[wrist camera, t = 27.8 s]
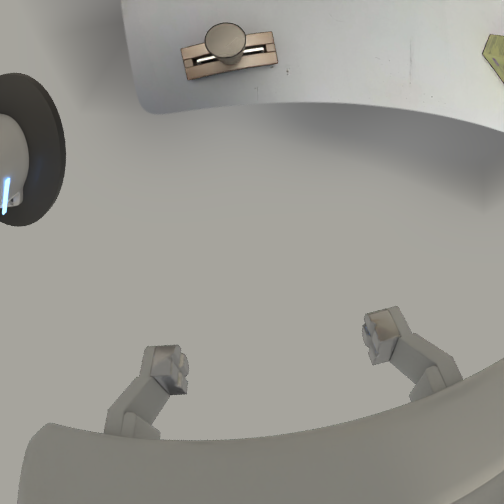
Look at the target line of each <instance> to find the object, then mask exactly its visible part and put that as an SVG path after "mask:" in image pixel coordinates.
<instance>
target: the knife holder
mask: <svg viewBox="0 0 504 504" xmlns="http://www.w3.org/2000/svg"><path fill="white" fill-rule="evenodd" d="M259 47H263V48H264V50H263V51H264V53H258V54H251V55H245V56H242V58H241V60H240V61H239V62H237V63H236V64H232V65H227V64H224V63H222V62H221V61H219V60H218V61H213V62H209V63H205V64H200V65H197V61H196V60H197V59H201V58H205V57H209V56H213V55H212V54H210V53H209V52H208V50H207V49H206V47H205V43H201V44H197V45H193V46H189V47H185V48H182V49H181V53H182V58H183V60H184V61H183V62H184V66H185V71H186V75H187V79H188V80H193V79H197V78H202V77H206V76H210V75H215V74H219V73H224V72H229V71H235V70H240V69H246V68H252V67H259V66H266V65H274V64H277V63H278V60H277V54H276V49H275V44H274V39H273V34H272V32H262V33H254V34H247V35H246V45H245V49H244V50H246V49H252V48H259Z"/></svg>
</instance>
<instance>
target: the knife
mask: <svg viewBox="0 0 504 504" xmlns="http://www.w3.org/2000/svg"><path fill="white" fill-rule="evenodd" d="M245 45H246V35H245V32H244V31H243V30H242V28H240V27H239V26H238V25H236V24H233V23H220V24H217V25H215V26H213V27H212V28H211V29H210V30H209V31H208V32H207V34H206V36H205V47H206V49H207V50H208V52H209V53H210V54H212V55H213V56H211V57H206V58H202V59H198V60H197V62H199V63H207V62H212V61H216V60H219V61H221V62H222V63H224V64H227V65H232V64H236V63H237V62H239V61H240V60H241V58H242V56H243V55H249V54H256V53H261V52H262V51H263V50H264V48H263V47H262V48H255V49H248V50H244V49H245Z"/></svg>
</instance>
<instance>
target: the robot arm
mask: <svg viewBox="0 0 504 504" xmlns="http://www.w3.org/2000/svg"><path fill="white" fill-rule="evenodd" d="M28 169H29V152H28V146H27V142H26V139H25V136H24V133H23V131H22V129H21V128H20V126H19V125H18V123H17V122H16V121H15V120H14V119H13V118H11V117H10V116H8V115H5V114H0V208H3V210H2V214H3V215H4V214H5V213H6V210H7V207H11V206H17V205H19V204H21V203H22V201H23V186H24V183H25V180H26V178H27V174H28ZM364 321H365V324H364V325H363V328H362V336H363V340H364V343H365V345H366V346H367V347H369V352H368V354H369V357H370V360H371V362H372V365H376V364H380V363H384V362H387V361H390V363H392V364H393V365H394V366H395V367H396V368H397V369H399V370H400V371H401V372H402V373H403V374H404V375H406V376H407V377H408V378H409V379H410V380H411V381H412V382H414V383H415V384H416V385H415V387H414V388H413V390H412V391H411V393H410V395H409V397H410V400H411V402H410V403H408V404H405V405H402V406H399V407H396V408H393V409H390V410H387V411H384V412H381V413H378V414H374V415H371V416H367V417H364V418H360V419H356V420H353V421H349V422H344V423H340V424H336V425H332V426H327V427H322V428H317V429H312V430H307V431H301V432H295V433H289V434H281V435H274V436H266V437H256V438H245V439H230V440H201V441H199V440H198V441H196V440H194V441H193V440H191V441H190V440H189V441H188V440H160V432H159V430H157V429H156V428H154V427H153V426H152V423H153V422H154V420H155V419H156V417H157V416H158V414H159V412H160V411H161V409H162V408H163V406H164V405H165V403H166V402H167V400H168V399H169V397H170V395H182V394H187V385H188V381H187V380H186V379H185V377H186V376H187V374H188V372H189V365H188V360H187V357H186V356H185V354H183V353H181V348H180V346H179V345H164V346H147V347H146V349H145V351H144V356H143V360H142V365H141V370H140V375H139V377H136V378H135V379H134V380H133V382H132V383H131V384H130V385H129V386H128V387H127V389H126V390H125V391H124V392H123V393H122V394H121V395H120V397H119V398H118V399H117V400H116V401H115V402H114V404H113V405H112V406H111V407H110V408H109V409H108V413H107V418H106V423H105V429H104V434H103V433H97V432H91V431H86V430H80V429H75V428H71V427H66V426H62V425H58V424H54V423H48V424H46V425H45V426H43V427H42V428H41V429H40V430H39V431H38V432H37V433H36V434H35V435H34V436H33V437H32V438H31V440H30V441H29V444H28V446H27V449H26V452H25V456H24V461H23V465H22V470H21V476H20V482H19V490H18V501H17V504H504V358H503V359H501V360H499V361H498V362H496V363H494V364H492V365H491V366H489V367H487V368H485V369H483V370H482V371H480V372H478V373H476V374H474V375H472V376H470V377H468V378H466V379H464V380H463V378H462V376H461V374H460V372H459V369H458V367H457V365H456V363H455V361H454V359H453V357H452V356H450V355H448V354H447V353H445V352H444V351H442V350H441V349H439V348H438V347H436V346H435V345H433V344H431V343H430V342H428V341H427V340H425V339H424V338H422V337H421V336H419V335H417V334H416V333H413V334H412V332H411V330H410V328H409V326H408V324H407V322H406V320H405V318H404V316H403V315H402V313H401V311H400V309H399V307H397V306H394V307H391V308H388V309H382V310H378V311H375V312H371V313H367V314H365V316H364Z"/></svg>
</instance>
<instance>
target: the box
mask: <svg viewBox="0 0 504 504" xmlns="http://www.w3.org/2000/svg"><path fill="white" fill-rule="evenodd" d="M483 55H484V57H485V58H486V59H487V60H488V62H489V63H490V64H491V66H492V67H493V68H494V70H495V71H496V72H497V74H498V75H499V77H500V78H501V80H502V81H503V83H504V36H500V35H490V36H489V39H488V42H487V44H486V47H485V49H484V52H483Z"/></svg>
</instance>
